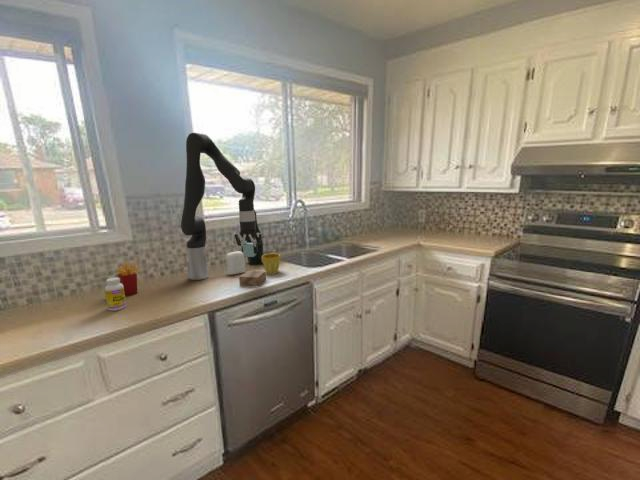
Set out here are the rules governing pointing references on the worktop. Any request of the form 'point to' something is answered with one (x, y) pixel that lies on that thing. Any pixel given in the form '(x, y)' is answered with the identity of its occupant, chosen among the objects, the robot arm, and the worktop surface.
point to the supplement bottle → (115, 294)
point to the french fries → (128, 279)
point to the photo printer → (235, 262)
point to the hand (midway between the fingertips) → (250, 253)
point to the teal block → (248, 250)
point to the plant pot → (271, 263)
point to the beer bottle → (258, 257)
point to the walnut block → (252, 278)
